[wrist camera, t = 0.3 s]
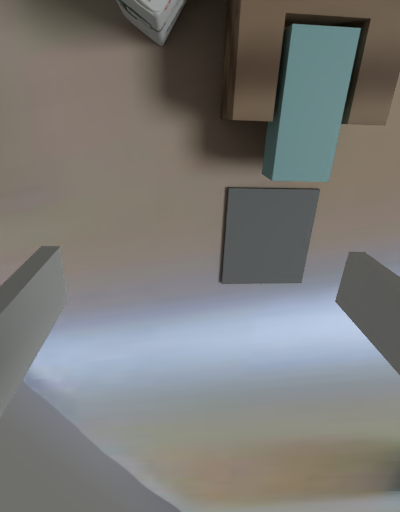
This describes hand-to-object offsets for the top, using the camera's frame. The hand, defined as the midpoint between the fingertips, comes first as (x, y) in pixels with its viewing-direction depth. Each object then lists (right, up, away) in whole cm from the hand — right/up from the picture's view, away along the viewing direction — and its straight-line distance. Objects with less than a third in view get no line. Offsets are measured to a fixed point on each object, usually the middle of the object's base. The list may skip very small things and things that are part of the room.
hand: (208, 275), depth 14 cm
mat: (+9, +3, +28) cm, 30 cm away
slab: (+10, +16, +18) cm, 26 cm away
